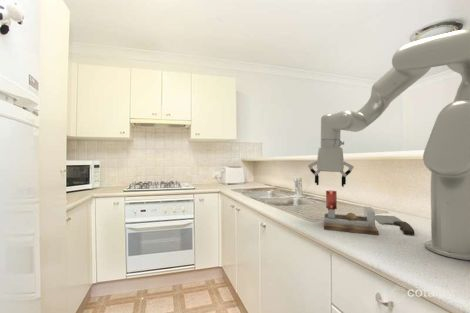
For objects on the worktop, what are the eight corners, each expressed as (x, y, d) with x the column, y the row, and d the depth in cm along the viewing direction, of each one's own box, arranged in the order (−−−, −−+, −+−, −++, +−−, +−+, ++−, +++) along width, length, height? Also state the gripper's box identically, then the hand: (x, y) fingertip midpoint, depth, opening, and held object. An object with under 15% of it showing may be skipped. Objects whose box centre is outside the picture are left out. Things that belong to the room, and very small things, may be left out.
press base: (371, 223, 95) (371, 220, 95) (378, 235, 80) (378, 230, 81) (324, 219, 102) (324, 216, 102) (323, 229, 87) (323, 225, 87)
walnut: (356, 222, 92) (356, 212, 92) (357, 224, 88) (357, 214, 88) (345, 221, 94) (345, 211, 94) (346, 223, 90) (345, 213, 90)
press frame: (370, 221, 93) (370, 206, 93) (375, 228, 83) (375, 212, 84) (324, 217, 100) (324, 203, 100) (324, 223, 90) (323, 208, 90)
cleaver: (422, 237, 79) (422, 231, 79) (389, 234, 82) (389, 228, 82) (394, 218, 107) (394, 213, 107) (370, 216, 110) (370, 212, 110)
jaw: (336, 218, 96) (336, 190, 96) (337, 223, 90) (336, 192, 90) (326, 217, 98) (326, 189, 98) (326, 222, 91) (325, 192, 92)
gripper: (352, 144, 95) (352, 185, 95) (309, 145, 101) (308, 183, 101) (354, 143, 88) (354, 188, 88) (307, 144, 94) (307, 185, 94)
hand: (329, 185), depth 95 cm, fingers open, 9 cm apart
